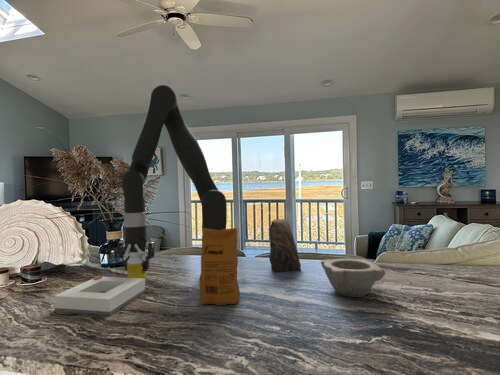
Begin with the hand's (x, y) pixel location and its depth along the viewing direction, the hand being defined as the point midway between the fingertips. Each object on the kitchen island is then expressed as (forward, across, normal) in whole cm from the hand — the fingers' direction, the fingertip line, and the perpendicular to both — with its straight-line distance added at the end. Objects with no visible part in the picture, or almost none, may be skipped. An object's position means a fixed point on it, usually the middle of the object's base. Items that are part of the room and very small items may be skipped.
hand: (136, 270), depth 110 cm
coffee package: (+5, -35, +11) cm, 37 cm away
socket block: (+5, +1, +17) cm, 18 cm away
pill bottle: (+5, 0, 0) cm, 5 cm away
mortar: (+5, -75, -1) cm, 75 cm away
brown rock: (+5, -52, -24) cm, 58 cm away
